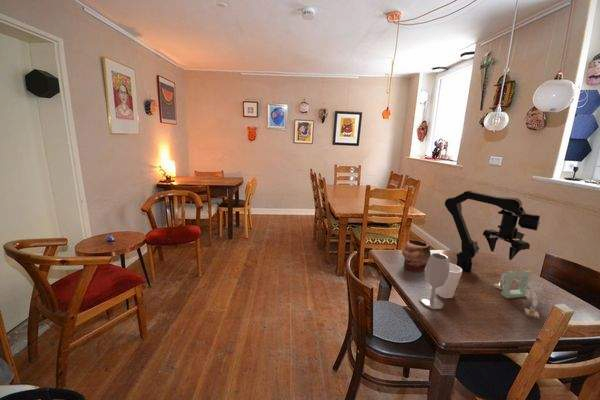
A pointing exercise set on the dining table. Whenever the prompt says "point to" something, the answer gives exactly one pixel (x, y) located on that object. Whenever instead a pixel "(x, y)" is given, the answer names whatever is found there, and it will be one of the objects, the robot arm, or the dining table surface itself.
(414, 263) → the decorative planter
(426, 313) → the dining table surface
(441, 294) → the foam cup
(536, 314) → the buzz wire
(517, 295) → the mint green frame
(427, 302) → the wineglass
